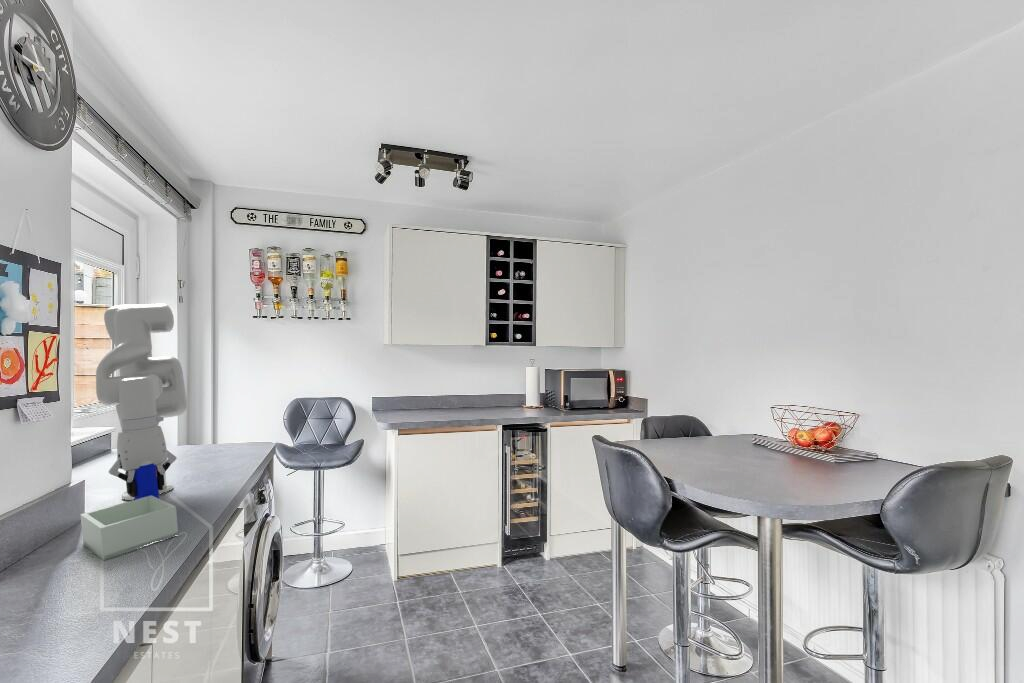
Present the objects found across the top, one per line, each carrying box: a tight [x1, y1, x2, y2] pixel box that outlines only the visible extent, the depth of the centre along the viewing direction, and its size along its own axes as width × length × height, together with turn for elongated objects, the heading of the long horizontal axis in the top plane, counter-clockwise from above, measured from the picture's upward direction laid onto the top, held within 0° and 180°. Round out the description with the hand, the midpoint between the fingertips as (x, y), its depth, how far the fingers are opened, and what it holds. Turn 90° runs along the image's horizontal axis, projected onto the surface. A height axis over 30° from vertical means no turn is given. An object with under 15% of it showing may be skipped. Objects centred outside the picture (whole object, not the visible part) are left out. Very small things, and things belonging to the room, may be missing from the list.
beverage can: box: [133, 461, 160, 500], centre depth 133 cm, size 5×5×15 cm
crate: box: [79, 495, 179, 561], centre depth 117 cm, size 16×14×7 cm
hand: (146, 491), depth 133 cm, fingers closed on beverage can, 5 cm apart
